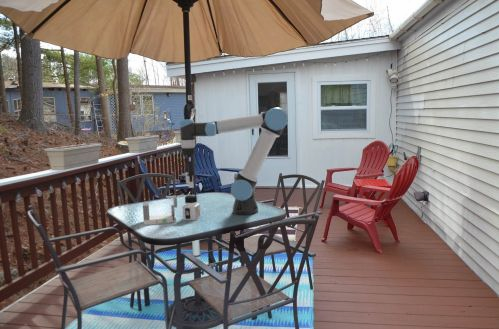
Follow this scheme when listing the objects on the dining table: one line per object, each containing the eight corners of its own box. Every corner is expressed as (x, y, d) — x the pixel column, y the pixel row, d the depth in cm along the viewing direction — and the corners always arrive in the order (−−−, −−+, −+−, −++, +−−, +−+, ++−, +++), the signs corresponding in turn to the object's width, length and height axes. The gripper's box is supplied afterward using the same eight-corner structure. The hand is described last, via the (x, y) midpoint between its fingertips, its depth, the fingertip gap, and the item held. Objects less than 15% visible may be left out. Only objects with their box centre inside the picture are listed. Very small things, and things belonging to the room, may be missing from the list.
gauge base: (175, 217, 215) (174, 199, 214) (176, 221, 206) (175, 203, 205) (144, 220, 211) (142, 202, 209) (144, 225, 202) (142, 205, 201)
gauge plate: (176, 215, 215) (175, 195, 214) (178, 220, 205) (176, 198, 204) (171, 216, 214) (170, 195, 213) (172, 220, 205) (171, 199, 203)
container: (196, 220, 208) (194, 197, 207) (182, 219, 210) (181, 197, 208) (200, 216, 216) (199, 194, 214) (187, 216, 217) (186, 194, 216)
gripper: (179, 146, 219) (181, 182, 222) (183, 149, 195) (185, 189, 198) (192, 145, 221) (193, 181, 224) (197, 148, 197) (199, 188, 200)
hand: (189, 185), depth 211 cm, fingers open, 13 cm apart
